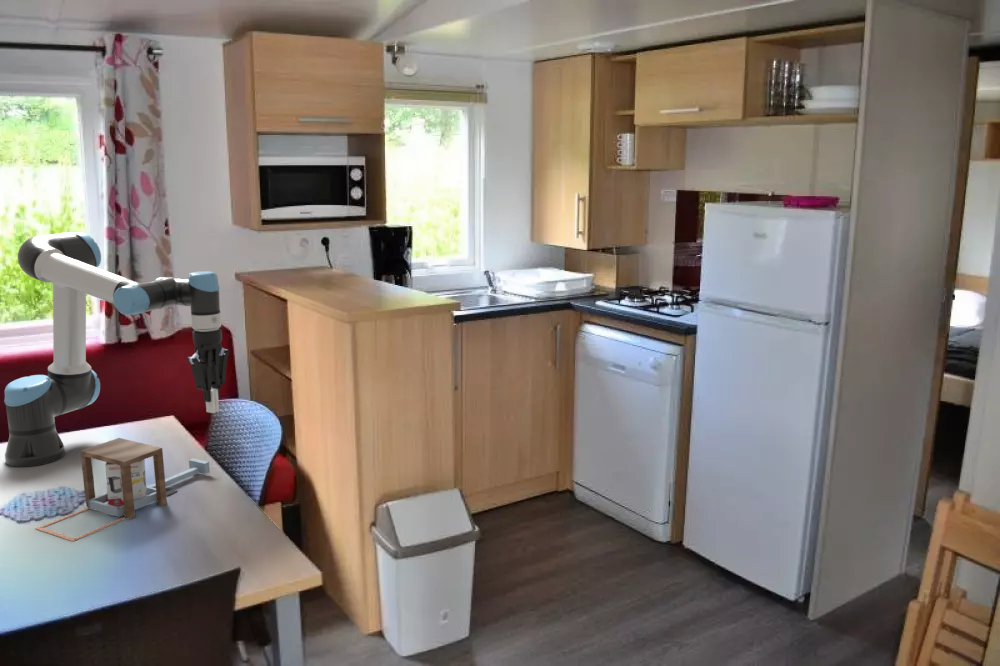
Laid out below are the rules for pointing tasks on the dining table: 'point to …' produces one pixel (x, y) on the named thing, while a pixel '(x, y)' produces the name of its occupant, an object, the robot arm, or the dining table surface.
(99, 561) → the dining table surface
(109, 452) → the tunnel frame
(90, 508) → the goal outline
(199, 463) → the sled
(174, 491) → the pad
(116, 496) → the ink box
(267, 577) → the dining table surface
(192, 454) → the dining table surface
